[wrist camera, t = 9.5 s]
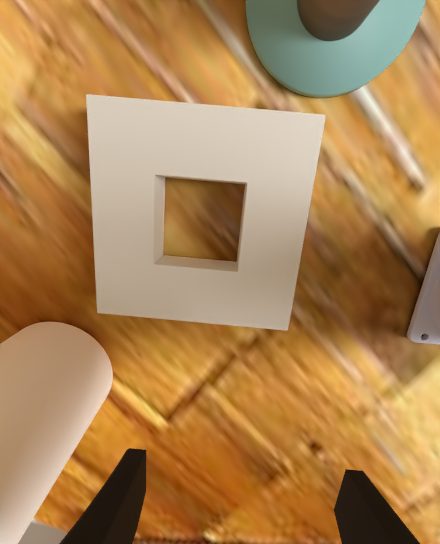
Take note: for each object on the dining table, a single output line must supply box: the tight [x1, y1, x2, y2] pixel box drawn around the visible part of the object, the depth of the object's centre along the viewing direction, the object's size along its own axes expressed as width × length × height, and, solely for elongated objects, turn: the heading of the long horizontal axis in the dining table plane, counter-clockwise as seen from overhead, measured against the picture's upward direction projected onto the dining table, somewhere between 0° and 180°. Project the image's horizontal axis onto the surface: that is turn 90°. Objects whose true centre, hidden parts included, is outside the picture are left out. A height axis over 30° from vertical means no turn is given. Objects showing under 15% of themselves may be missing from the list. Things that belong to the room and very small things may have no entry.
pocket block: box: [86, 94, 326, 331], centre depth 16 cm, size 12×12×2 cm
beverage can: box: [0, 322, 113, 544], centre depth 15 cm, size 8×8×12 cm
